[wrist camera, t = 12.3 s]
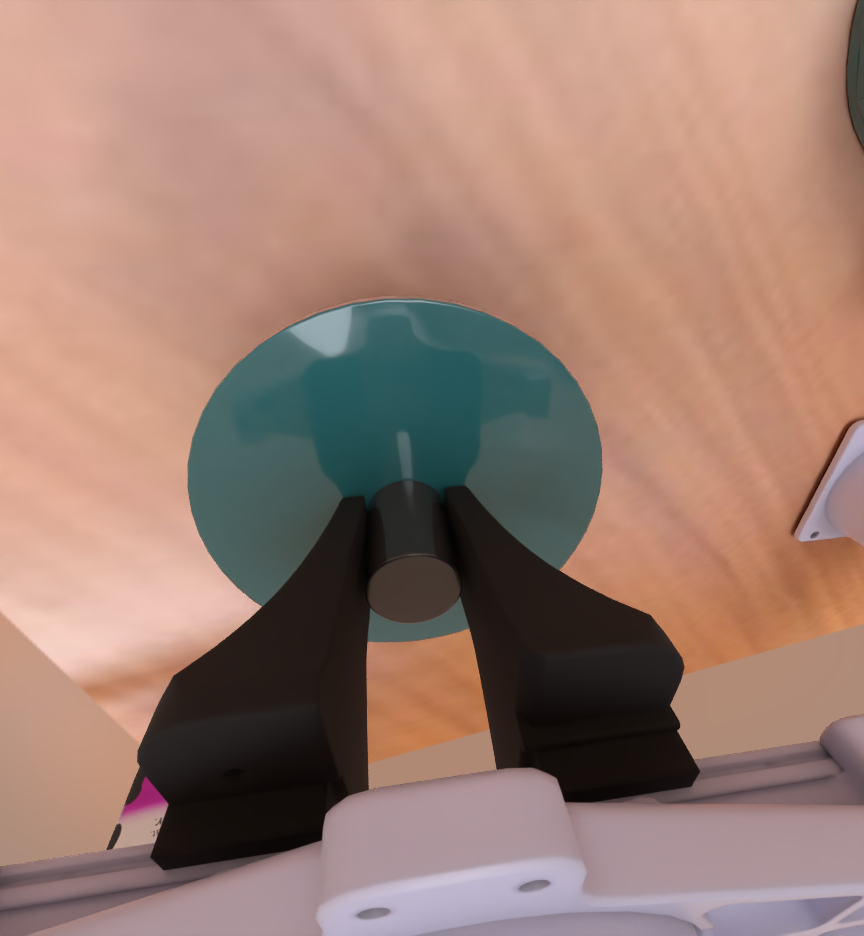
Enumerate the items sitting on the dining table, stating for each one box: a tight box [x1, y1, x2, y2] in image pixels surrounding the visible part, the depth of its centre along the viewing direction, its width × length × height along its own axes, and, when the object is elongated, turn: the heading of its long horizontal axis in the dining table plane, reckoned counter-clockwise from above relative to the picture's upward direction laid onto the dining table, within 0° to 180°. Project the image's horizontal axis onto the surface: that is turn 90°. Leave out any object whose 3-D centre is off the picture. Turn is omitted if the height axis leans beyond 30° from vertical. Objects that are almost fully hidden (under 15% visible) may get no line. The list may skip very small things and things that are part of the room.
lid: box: [188, 296, 602, 642], centre depth 12 cm, size 12×12×4 cm
